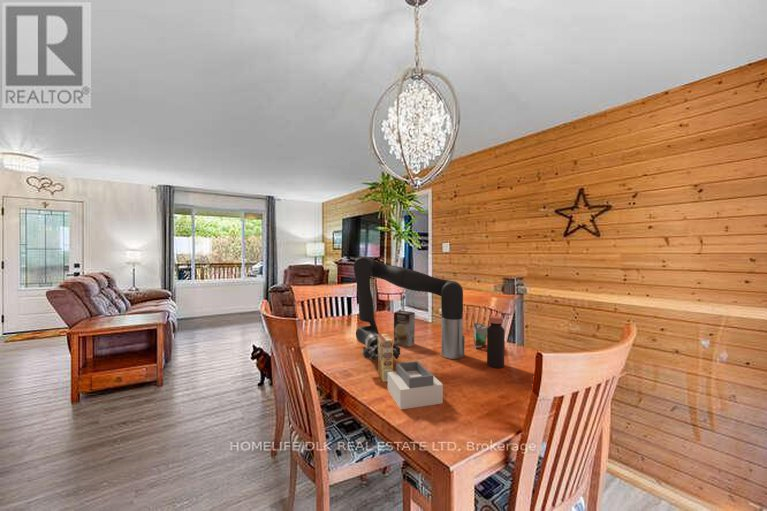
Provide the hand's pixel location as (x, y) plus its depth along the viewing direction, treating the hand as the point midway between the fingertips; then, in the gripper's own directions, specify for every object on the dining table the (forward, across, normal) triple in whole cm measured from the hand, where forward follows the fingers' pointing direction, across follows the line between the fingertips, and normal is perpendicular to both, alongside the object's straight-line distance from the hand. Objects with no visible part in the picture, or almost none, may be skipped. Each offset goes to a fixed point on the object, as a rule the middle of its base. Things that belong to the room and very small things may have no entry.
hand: (386, 357), depth 119 cm
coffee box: (-38, +20, +8) cm, 43 cm away
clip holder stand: (+15, +5, +8) cm, 18 cm away
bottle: (-1, +47, +8) cm, 48 cm away
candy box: (-2, 0, +8) cm, 8 cm away
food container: (-24, +55, +8) cm, 60 cm away
